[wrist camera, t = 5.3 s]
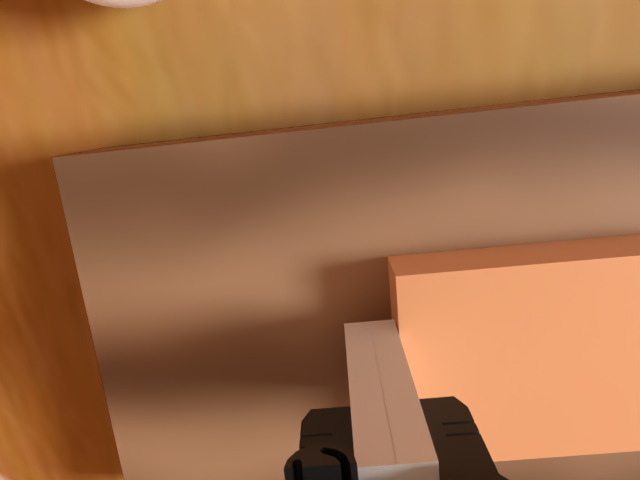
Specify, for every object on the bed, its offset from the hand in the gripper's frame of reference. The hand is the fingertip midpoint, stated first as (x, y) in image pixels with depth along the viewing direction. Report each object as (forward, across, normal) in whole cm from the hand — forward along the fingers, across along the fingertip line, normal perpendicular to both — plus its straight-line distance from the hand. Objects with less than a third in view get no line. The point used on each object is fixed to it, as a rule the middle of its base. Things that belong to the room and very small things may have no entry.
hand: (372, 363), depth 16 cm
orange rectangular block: (+1, +5, 0) cm, 5 cm away
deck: (+5, +3, 0) cm, 6 cm away
